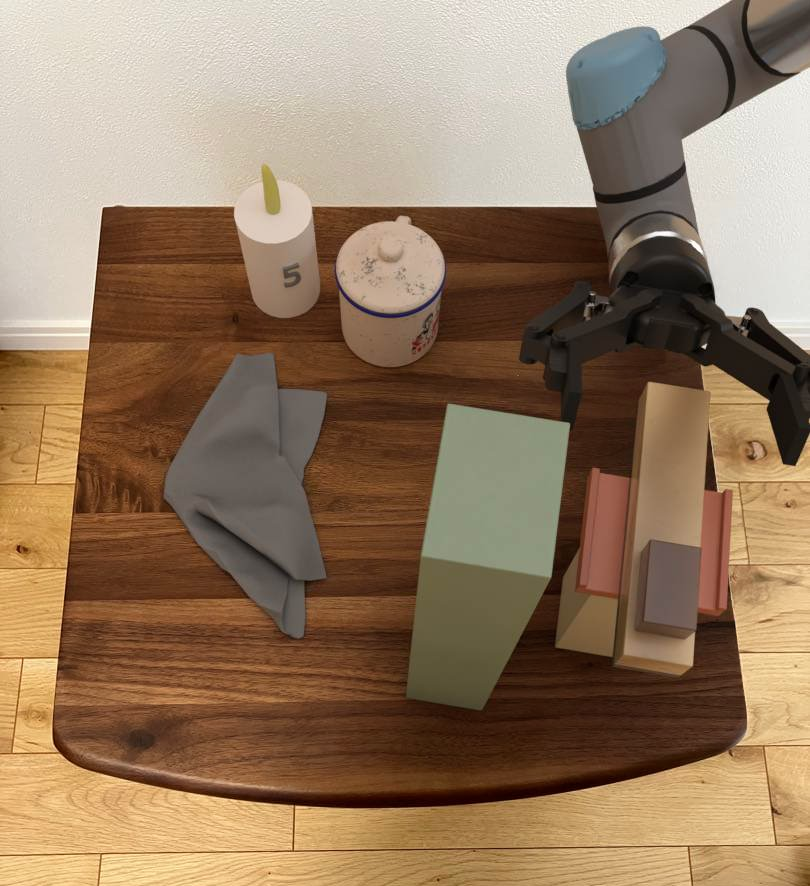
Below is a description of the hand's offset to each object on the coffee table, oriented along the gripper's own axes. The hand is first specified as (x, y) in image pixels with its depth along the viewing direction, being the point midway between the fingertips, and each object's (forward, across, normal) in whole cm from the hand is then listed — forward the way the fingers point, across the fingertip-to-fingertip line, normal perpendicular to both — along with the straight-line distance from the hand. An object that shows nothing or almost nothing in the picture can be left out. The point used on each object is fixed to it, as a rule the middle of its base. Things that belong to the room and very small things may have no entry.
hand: (683, 429), depth 57 cm
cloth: (-12, +30, -19) cm, 38 cm away
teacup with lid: (-29, +21, -10) cm, 37 cm away
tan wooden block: (+2, 0, -7) cm, 7 cm away
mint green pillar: (-2, +11, -25) cm, 27 cm away
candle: (-29, +31, -9) cm, 44 cm away
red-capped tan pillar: (-7, 0, -22) cm, 23 cm away
